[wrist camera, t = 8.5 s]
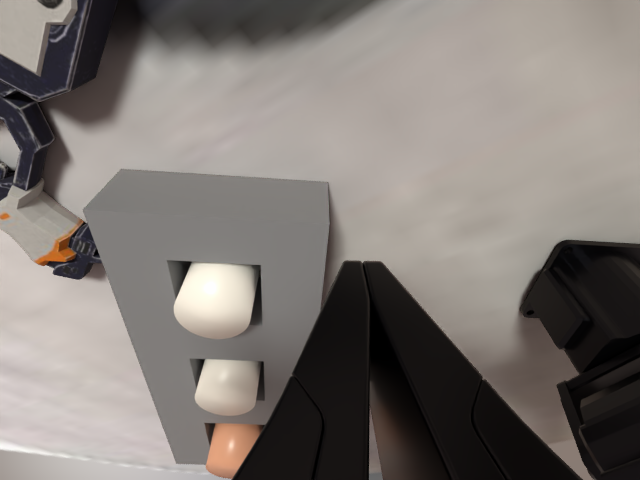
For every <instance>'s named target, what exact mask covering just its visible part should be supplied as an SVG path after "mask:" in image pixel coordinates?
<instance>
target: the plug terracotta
mask: <svg viewBox="0 0 640 480" xmlns="http://www.w3.org/2000/svg"><path fill="white" fill-rule="evenodd" d="M262 428H263V425H256V424H226V423H215V427H214V432H213V436H212V441H211V445H210V450H209V454H208V459H207V463H206V469H207V470H208V471H209V472H210V473H212V474H214V475H216V476H219V477H223V478H230V479H232V478H233V476H234V475H235V473H236V472H237V470H238V469H239V467H240V465H241V464H242V462H243V461H244V459H245V458H246V456H247V454H248V453H249V451H250V450H251V448H252V446H253V445H254V443H255V441H256V440H257V438H258V436H259V435H260V433H261V431H262Z"/></svg>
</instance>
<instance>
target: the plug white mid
mask: <svg viewBox="0 0 640 480" xmlns="http://www.w3.org/2000/svg"><path fill="white" fill-rule="evenodd" d="M260 368H261V361H241V360H216V359H205V361H204V365H203V368H202V372H201V375H200V379H199V382H198V386H197V389H196V393H195V401H196V403H197V404H198V405H199V406H200V407H201V408H203V409H204V410H206V411H208V412H211V413H214V414H218V415H224V416H235V415H241V414H244V413H247V412H249V411H250V410H252V409H253V408H254V406H255V403H256V396H257V389H258V382H259V375H260Z"/></svg>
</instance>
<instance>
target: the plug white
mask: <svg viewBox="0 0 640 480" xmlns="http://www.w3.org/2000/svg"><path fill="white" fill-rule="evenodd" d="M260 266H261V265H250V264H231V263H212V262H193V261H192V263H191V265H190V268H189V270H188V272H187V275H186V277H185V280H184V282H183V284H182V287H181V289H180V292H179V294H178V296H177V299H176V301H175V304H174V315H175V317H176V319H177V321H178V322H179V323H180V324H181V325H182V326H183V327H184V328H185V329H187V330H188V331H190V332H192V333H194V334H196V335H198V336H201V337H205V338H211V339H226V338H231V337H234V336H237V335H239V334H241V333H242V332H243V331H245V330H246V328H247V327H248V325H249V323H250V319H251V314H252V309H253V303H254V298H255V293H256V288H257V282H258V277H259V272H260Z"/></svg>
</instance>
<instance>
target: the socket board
mask: <svg viewBox="0 0 640 480" xmlns="http://www.w3.org/2000/svg"><path fill="white" fill-rule="evenodd" d="M83 212H84V215H85V217H86V220H87V223H88V225H89V228H90V231H91V234H92V236H93V239H94V242H95V244H96V247H97V250H98V253H99V255H100V258H101V261H102V263H103V266H104V269H105V272H106V274H107V277H108V280H109V282H110V285H111V288H112V290H113V293H114V296H115V299H116V301H117V304H118V307H119V309H120V312H121V315H122V318H123V320H124V323H125V326H126V328H127V331H128V334H129V336H130V339H131V342H132V345H133V347H134V350H135V353H136V355H137V358H138V361H139V364H140V366H141V369H142V372H143V374H144V377H145V380H146V382H147V385H148V388H149V391H150V393H151V396H152V399H153V401H154V404H155V407H156V410H157V412H158V415H159V418H160V420H161V423H162V426H163V429H164V431H165V434H166V437H167V439H168V442H169V445H170V447H171V450H172V453H173V456H174V458H175V461H176V464H204V465H206V463H207V459H208V454H209V450H210V445H211V441H212V436H213V432H214V427H215V423H226V424H256V425H263V428H264V426H265V424H266V423H267V421H268V419H269V417H270V416H271V414H272V412H273V410H274V408H275V406H276V404H277V402H278V400H279V398H280V396H281V394H282V392H283V390H284V388H285V385H286V383H287V381H288V379H289V377H290V376H291V373H292V371H293V369H294V367H295V364H296V362H297V360H298V358H299V356H300V354H301V352H302V349H303V347H304V345H305V343H306V341H307V339H308V337H309V334H310V332H311V330H312V328H313V326H314V324H315V321H316V319H317V317H318V315H319V313H320V309H321V300H322V291H323V281H324V272H325V262H326V253H327V244H328V234H329V225H330V222H329V197H328V182H316V181H301V180H285V179H269V178H253V177H237V176H222V175H206V174H190V173H174V172H158V171H142V170H127V169H121V170H120V171H119V172H118V173H117V174H116V175H115V176H114V177H113V178H112V179H111V180H110V181H109V182H108V183H107V185H106V186H105V187H104V188H103V189H102V190H101V191H100V192H99V193H98V194H97V195H96V196H95V197H94V198H93V199H92V200H91V202H90V203H89V204H88V205H87V206H86V207H85V208H84V209H83ZM192 261H193V262H212V263H231V264H250V265H261V277H258V282H257V288H256V293H255V298H254V303H253V309H252V314H251V319H250V323H249V325H248V327H247V328H246V330H245V331H243V332H242V333H241V334H239V335H237V336H234V337H231V338H226V339H211V338H205V337H201V336H198V335H196V334H194V333H192V332H190V331H188V330H187V329H185V328H184V327H183V326H182V325H181V324H180V323H179V322H178V321H177V319H176V317H175V315H174V304H175V301H176V299H177V296H178V294H179V292H180V289H181V287H182V284H183V282H184V280H185V277H186V275H187V272H188V270H189V268H190V265H191V263H192ZM205 359H216V360H241V361H261V368H260V375H259V382H258V389H257V396H256V403H255V406H254V408H253V409H252V410H250V411H249V412H247V413H244V414H241V415H235V416H224V415H218V414H214V413H211V412H208V411H206V410H204V409H203V408H201V407H200V406H199V405H198V404H197V403H196V401H195V393H196V389H197V386H198V382H199V379H200V375H201V372H202V368H203V365H204V361H205ZM263 428H262V430H263Z"/></svg>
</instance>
